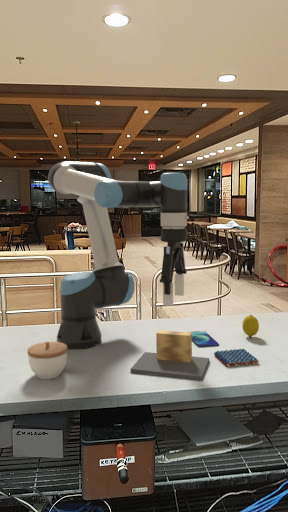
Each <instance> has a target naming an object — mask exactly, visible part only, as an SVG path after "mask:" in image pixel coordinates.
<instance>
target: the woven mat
mask: <svg viewBox="0 0 288 512" xmlns="http://www.w3.org/2000/svg"><path fill="white" fill-rule="evenodd" d="M213 356H215V357H216V358H217V359H218V360H219V361H220V362H221V363H222V364H224V366H225V367H226V368H231V367H240V366H242V367H245V366H251V365H253V366H254V365H255V364H256V365H258V364H259V362H260V360H258V359H257V357H255V356H254V355H253V354H252V353H250V352H249V351H247V350H246V349H245V348H238V349H236V348H235V349H230V350H227V349H226V350H216V351H214V353H213Z"/></svg>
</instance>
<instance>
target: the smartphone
mask: <svg viewBox="0 0 288 512" xmlns="http://www.w3.org/2000/svg"><path fill="white" fill-rule="evenodd" d="M188 332H189V333H192V344H194V345H195V346H196V347H197V348H211V347H220V343H219V342H218V341H216V339H214V338H213V337H212V336H211V335H210V334H208V332H207V331H205V330H200V331H199V330H198V331H188Z"/></svg>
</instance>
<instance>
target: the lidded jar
mask: <svg viewBox="0 0 288 512" xmlns="http://www.w3.org/2000/svg"><path fill="white" fill-rule="evenodd" d="M27 357H28V364H29V367H30V369H31V371H32V373H34V375H36V376H37V378H39V379H42V380H51V379H55V378H57V377H59V376H60V375H61V373H62V372H63V371H64V369H65V368H66V365H67V360H68V348H67V345H66V344H64V343H60V342H57V341H45V342H39V343H35V344H33V345H31V346H29V347H28V349H27Z"/></svg>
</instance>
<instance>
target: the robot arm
mask: <svg viewBox="0 0 288 512" xmlns="http://www.w3.org/2000/svg"><path fill="white" fill-rule="evenodd" d="M187 178H188V177H187V175H186V174H185V173H184V172H163V173H162V174H161V175H160V179H159V181H157V180H156V181H144V180H143V181H140V180H139V181H131V180H129V181H128V180H116V179H113V178H112V175H111V173H110V170H109V168H108V167H107V166H106V165H104V164H103V163H100V162H95V161H90V162H89V161H71V160H68V161H67V160H64V161H61V162H58V163H55V164H54V165H53V166H51V168H50V169H49V172H48V174H47V181H48V184H49V186H50V187H51V189H52V190H53V191H55V192H57V193H60V194H62V195H76V199H77V200H76V201H77V202H79V203H80V204H81V205H82V209H83V215H84V219H85V223H86V227H87V232H88V238H89V243H90V247H91V252H92V257H93V262H94V268H93V270H92V271H82V272H80V271H79V272H75V273H69V274H67V275H65V276H64V277H62V279H61V280H60V284H59V285H60V286H59V287H60V288H59V294H60V296H59V297H60V313H61V321H60V324H59V328H58V333H57V335H56V342H60V343H64V344H66V345H67V349H75V350H79V349H86V348H92V347H94V346H95V347H96V346H97V345H99V344H100V343H101V342H102V341H103V340H102V332H101V329H100V326H99V324H98V323H99V322H98V321H97V318H96V317H97V316H96V315H97V314H96V312H97V311H96V310H97V309H103V308H110V307H114V306H116V307H117V306H120V305H123V304H126V303H127V304H128V303H129V301H131V299H132V298H133V295H134V293H135V280H134V276H133V275H132V274H131V273H130V272H129V271H127V270H126V269H125V266H124V264H123V263H121V262H120V261H119V257H118V254H117V253H118V252H117V249H116V243H115V239H114V235H113V231H112V230H113V229H112V225H111V220H110V216H109V211H108V209H116V208H154V207H155V208H156V207H157V208H158V207H160V227H161V229H160V241H161V242H164V243H167V245H166V246H164V247H163V258H162V266H161V272H160V273H161V274H160V275H161V276H160V278H159V283H162V306H164V307H166V306H167V307H173V306H174V296H184V295H185V287H184V286H185V275H187V270H186V261H185V253H184V242H187V240H188V230H187V228H185V227H187V226H188V220H189V218H190V216H189V215H188V214H187V212H188V179H187ZM173 278H174V282H173Z"/></svg>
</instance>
